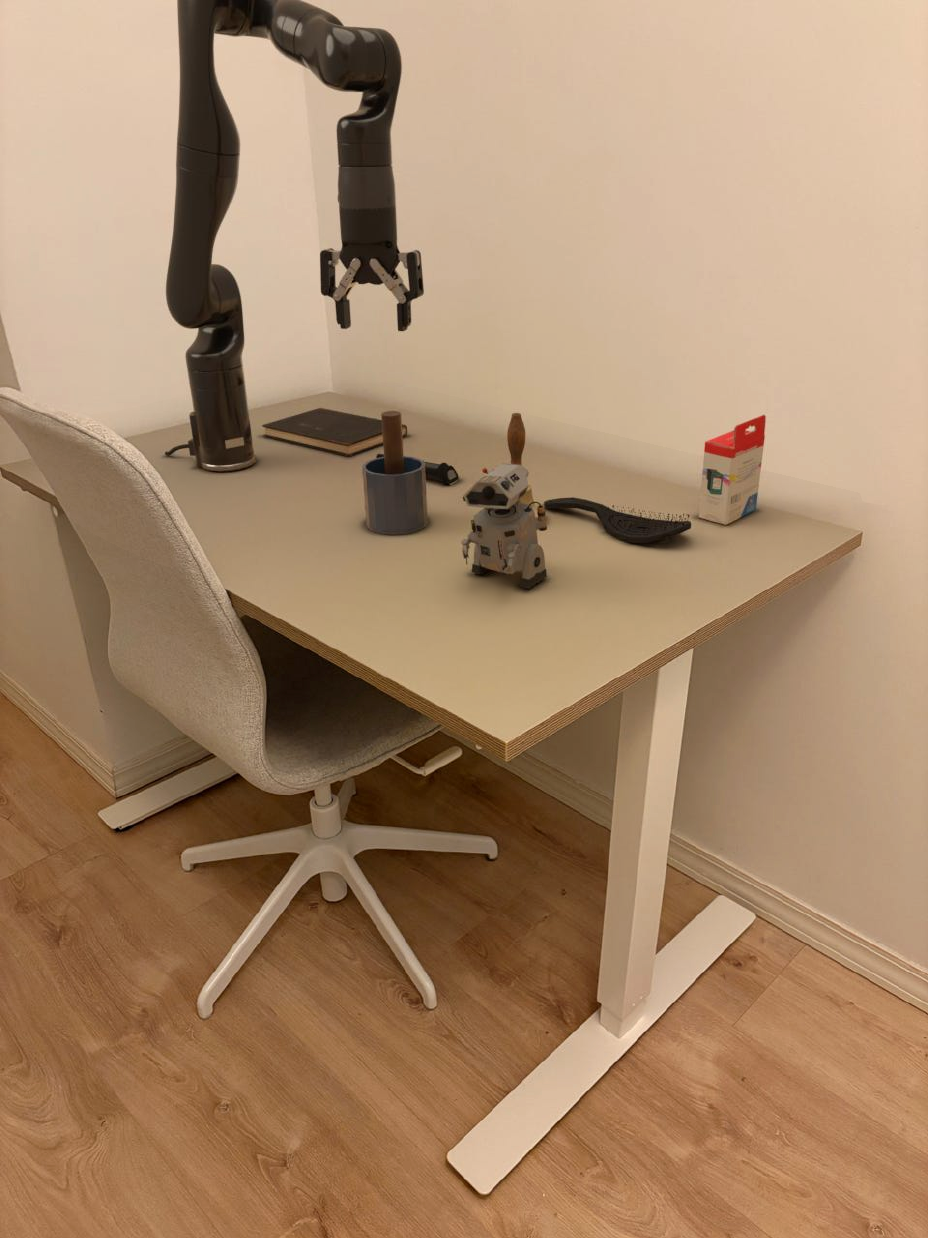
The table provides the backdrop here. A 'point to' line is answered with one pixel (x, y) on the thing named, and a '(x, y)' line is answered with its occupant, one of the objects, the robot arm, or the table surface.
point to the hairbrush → (626, 521)
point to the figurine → (505, 526)
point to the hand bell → (519, 451)
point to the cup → (395, 497)
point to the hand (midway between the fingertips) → (373, 329)
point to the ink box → (732, 473)
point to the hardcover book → (329, 431)
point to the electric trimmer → (438, 472)
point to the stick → (392, 442)
